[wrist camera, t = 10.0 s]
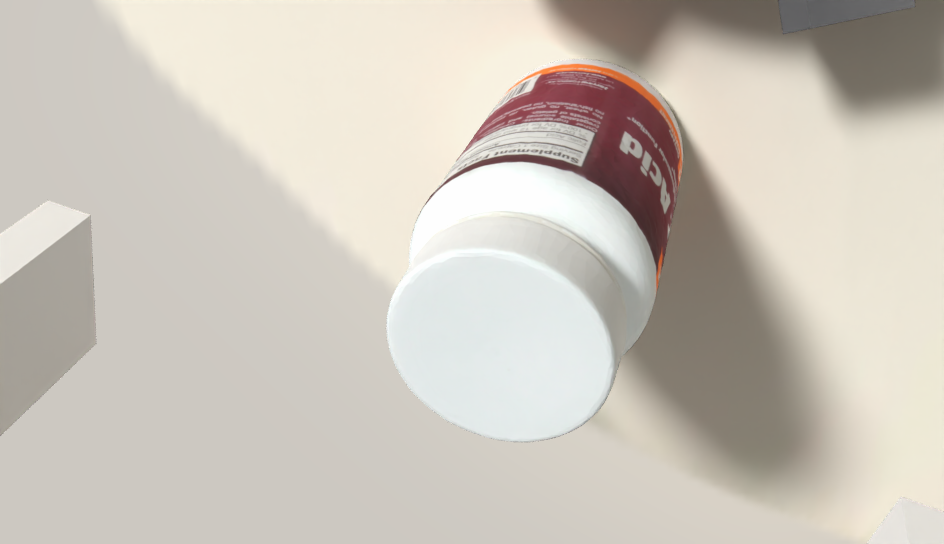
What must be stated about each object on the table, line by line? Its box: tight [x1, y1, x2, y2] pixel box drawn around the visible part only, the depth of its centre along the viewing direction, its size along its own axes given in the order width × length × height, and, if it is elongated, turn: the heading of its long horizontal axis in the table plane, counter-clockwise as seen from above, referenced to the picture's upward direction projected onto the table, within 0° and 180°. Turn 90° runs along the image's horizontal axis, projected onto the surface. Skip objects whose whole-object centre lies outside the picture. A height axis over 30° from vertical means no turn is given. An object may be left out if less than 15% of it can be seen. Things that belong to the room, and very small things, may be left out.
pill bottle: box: [387, 59, 683, 442], centre depth 18 cm, size 5×5×8 cm
